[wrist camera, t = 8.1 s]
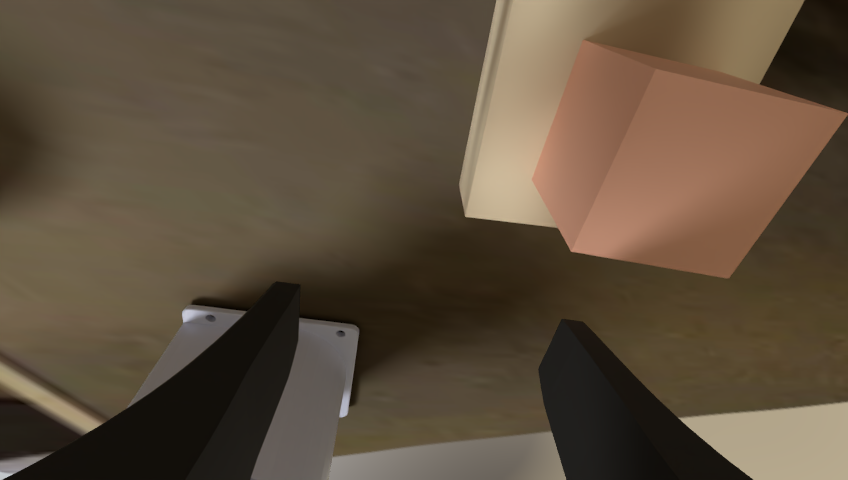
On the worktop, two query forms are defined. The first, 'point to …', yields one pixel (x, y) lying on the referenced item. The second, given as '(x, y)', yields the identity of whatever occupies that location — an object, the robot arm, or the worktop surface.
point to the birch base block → (552, 64)
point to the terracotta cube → (672, 160)
